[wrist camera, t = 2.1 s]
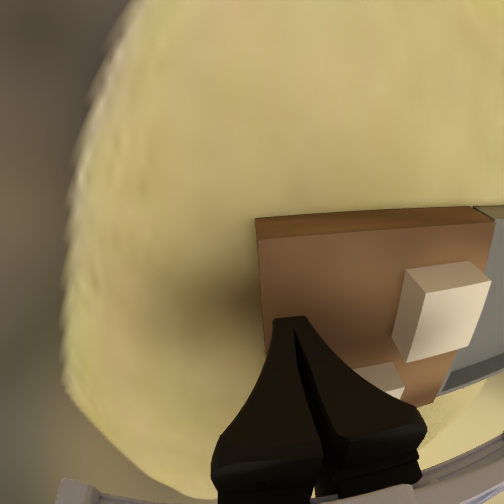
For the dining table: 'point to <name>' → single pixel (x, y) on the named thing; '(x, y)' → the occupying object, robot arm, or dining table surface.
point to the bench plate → (364, 278)
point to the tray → (484, 320)
